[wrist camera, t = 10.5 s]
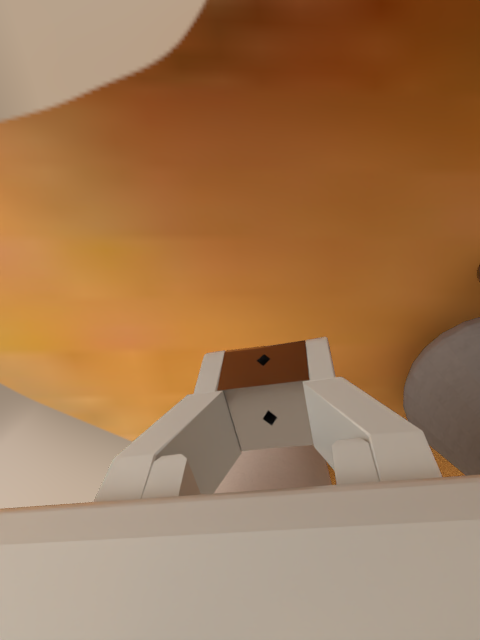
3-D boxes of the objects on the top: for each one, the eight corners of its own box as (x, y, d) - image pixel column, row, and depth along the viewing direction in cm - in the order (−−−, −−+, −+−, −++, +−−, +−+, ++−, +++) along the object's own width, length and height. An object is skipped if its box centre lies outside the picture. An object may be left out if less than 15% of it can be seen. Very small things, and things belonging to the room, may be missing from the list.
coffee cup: (205, 430, 34) (161, 644, 21) (204, 334, 29) (145, 534, 16) (319, 440, 33) (347, 665, 20) (338, 344, 28) (390, 558, 15)
